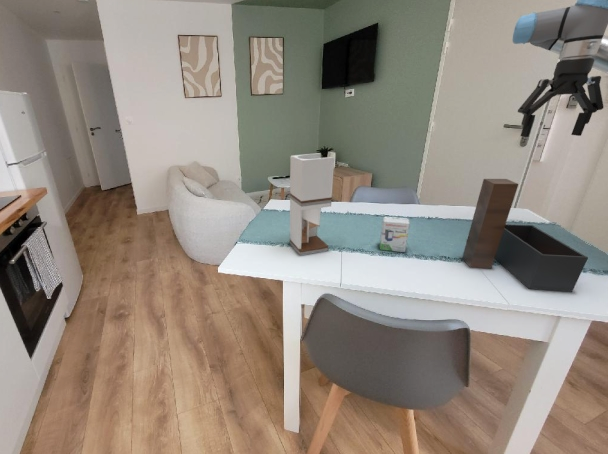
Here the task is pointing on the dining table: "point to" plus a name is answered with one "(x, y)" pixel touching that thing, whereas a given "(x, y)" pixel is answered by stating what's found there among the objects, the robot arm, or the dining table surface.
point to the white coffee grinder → (309, 200)
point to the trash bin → (539, 259)
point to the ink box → (394, 234)
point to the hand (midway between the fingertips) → (549, 136)
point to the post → (489, 222)
